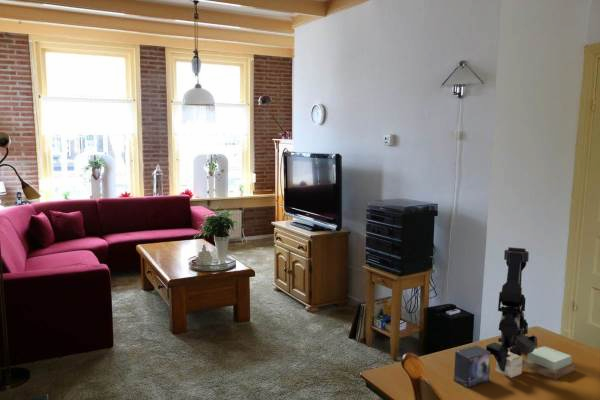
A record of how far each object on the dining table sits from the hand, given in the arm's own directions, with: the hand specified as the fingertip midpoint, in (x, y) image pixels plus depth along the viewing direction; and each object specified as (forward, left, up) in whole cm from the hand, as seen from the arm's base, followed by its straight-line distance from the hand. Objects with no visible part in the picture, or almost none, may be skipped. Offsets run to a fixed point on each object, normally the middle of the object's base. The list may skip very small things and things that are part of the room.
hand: (508, 368), depth 167 cm
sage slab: (+6, +14, +1) cm, 16 cm away
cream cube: (0, 0, -1) cm, 1 cm away
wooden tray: (+6, +14, -2) cm, 15 cm away
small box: (-3, -16, -2) cm, 16 cm away
